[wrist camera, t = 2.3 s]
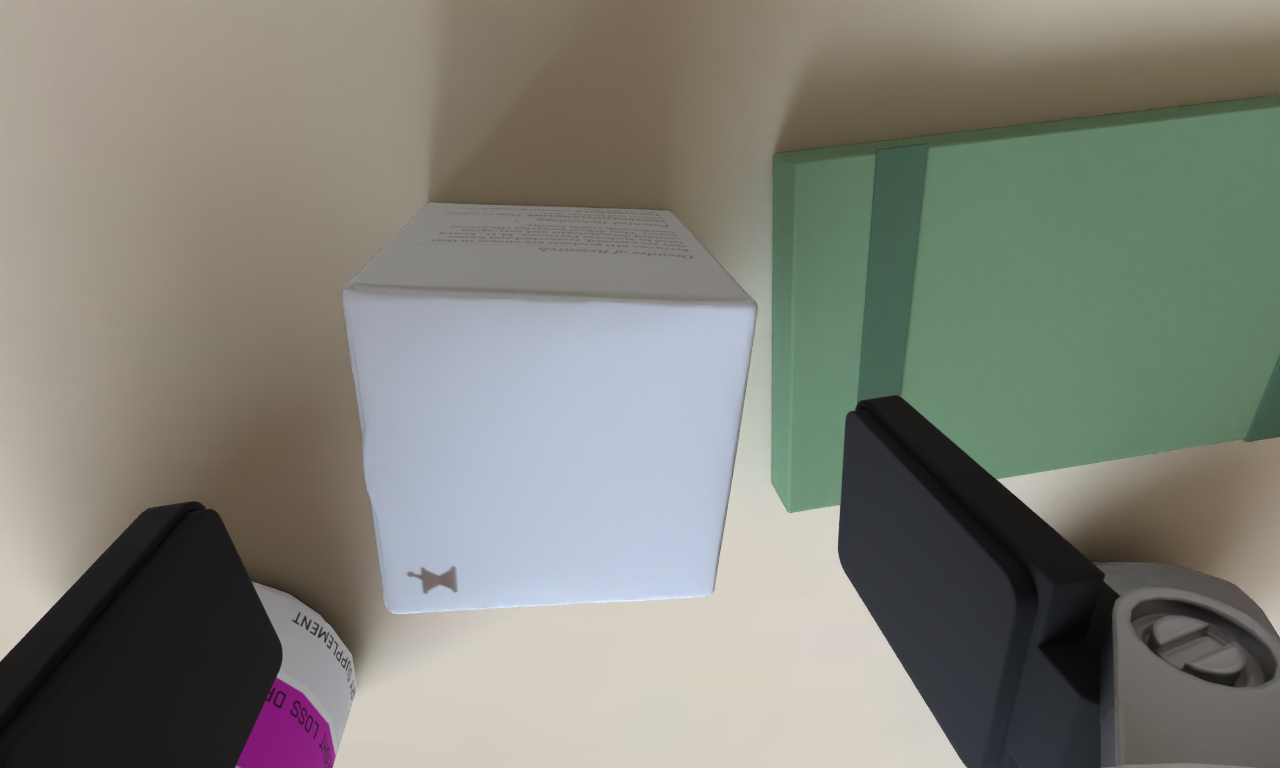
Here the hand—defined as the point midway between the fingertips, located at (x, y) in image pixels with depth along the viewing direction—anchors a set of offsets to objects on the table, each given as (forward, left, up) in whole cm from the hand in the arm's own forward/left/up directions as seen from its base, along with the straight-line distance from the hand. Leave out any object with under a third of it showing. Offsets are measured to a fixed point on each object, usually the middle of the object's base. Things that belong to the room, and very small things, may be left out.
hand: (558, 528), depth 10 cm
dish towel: (+1, +15, -8) cm, 17 cm away
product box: (0, 0, -8) cm, 8 cm away
